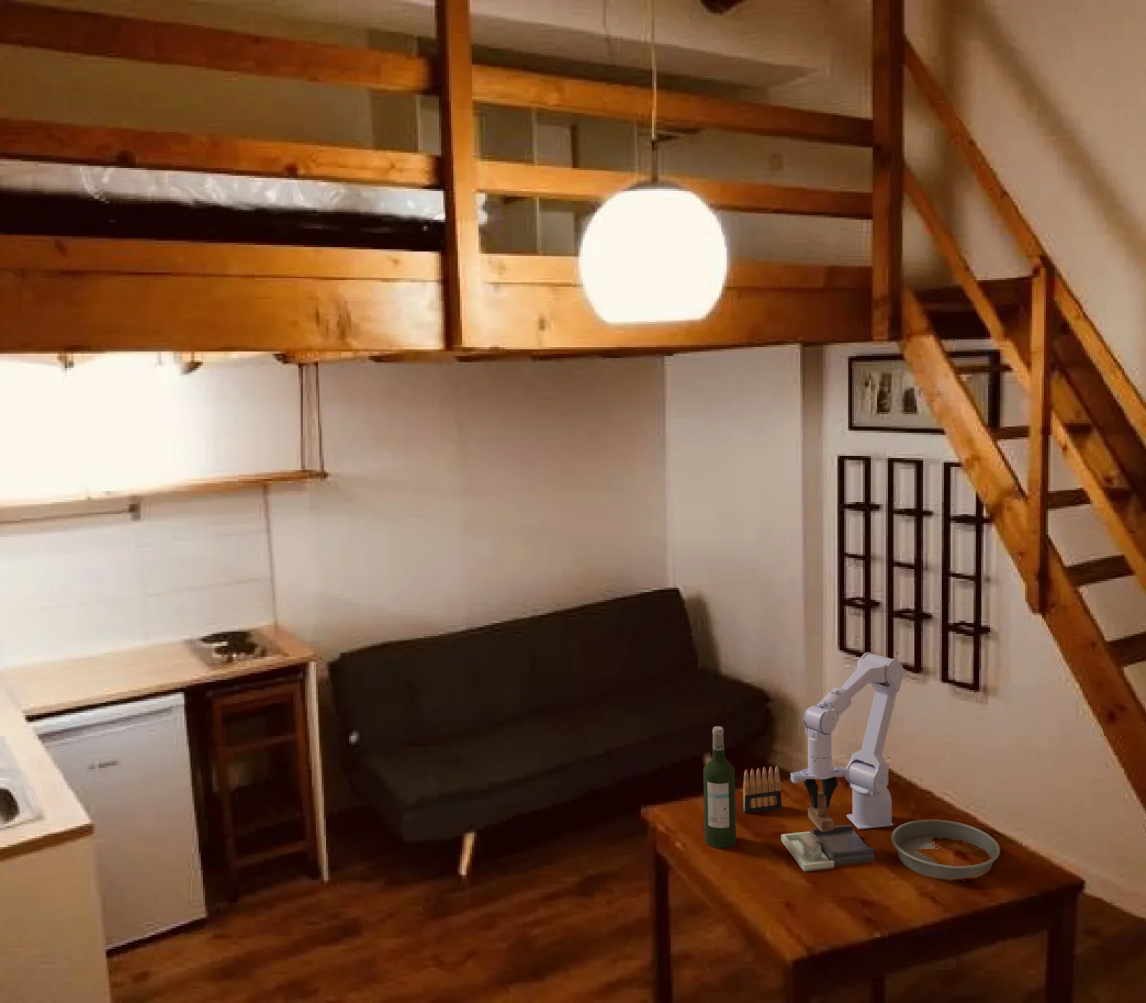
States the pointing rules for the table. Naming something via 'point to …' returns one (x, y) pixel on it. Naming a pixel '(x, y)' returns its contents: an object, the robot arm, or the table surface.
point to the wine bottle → (719, 796)
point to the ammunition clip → (761, 791)
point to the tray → (798, 853)
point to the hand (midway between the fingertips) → (820, 806)
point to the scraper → (821, 814)
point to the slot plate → (844, 846)
